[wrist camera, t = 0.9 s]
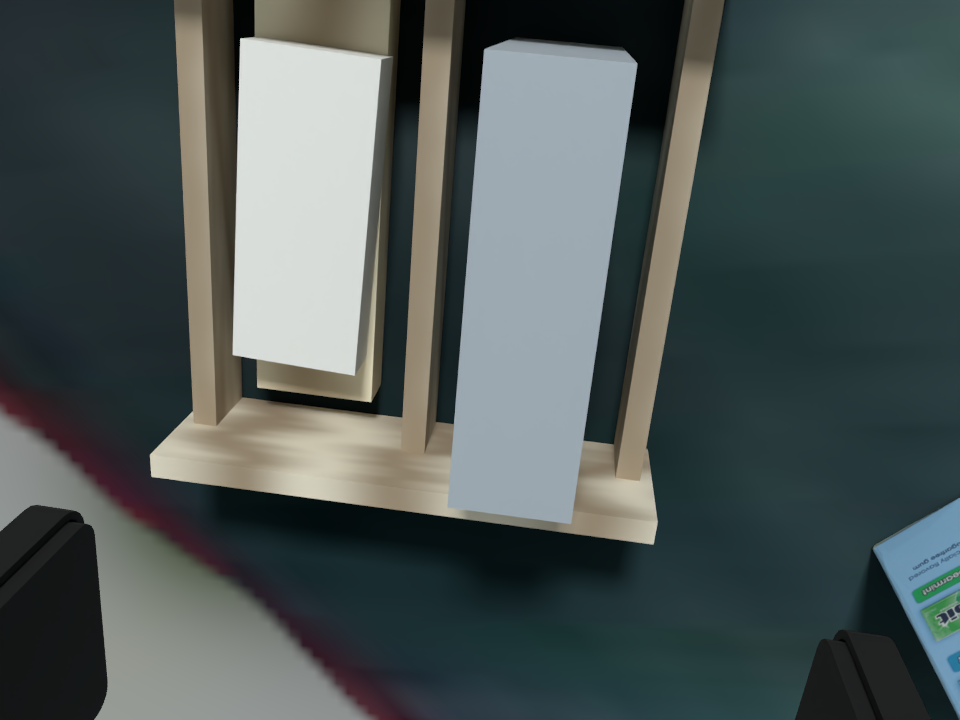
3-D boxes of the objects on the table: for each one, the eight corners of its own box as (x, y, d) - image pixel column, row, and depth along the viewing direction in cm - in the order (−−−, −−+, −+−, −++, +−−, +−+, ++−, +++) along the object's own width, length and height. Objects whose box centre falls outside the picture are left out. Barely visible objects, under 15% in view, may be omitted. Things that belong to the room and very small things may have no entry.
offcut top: (393, 56, 32) (381, 59, 30) (366, 357, 36) (354, 375, 35) (260, 36, 32) (240, 38, 30) (250, 337, 37) (232, 355, 35)
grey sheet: (622, 47, 33) (637, 63, 23) (575, 386, 38) (571, 524, 28) (516, 37, 33) (483, 48, 23) (484, 375, 38) (447, 507, 28)
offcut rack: (735, -48, 31) (767, -61, 25) (644, 468, 39) (653, 544, 33) (192, -94, 32) (110, -116, 27) (211, 412, 40) (151, 476, 35)
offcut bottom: (403, -2, 33) (390, -2, 31) (383, 379, 40) (371, 402, 37) (276, -14, 34) (254, -16, 31) (276, 365, 40) (257, 387, 38)
